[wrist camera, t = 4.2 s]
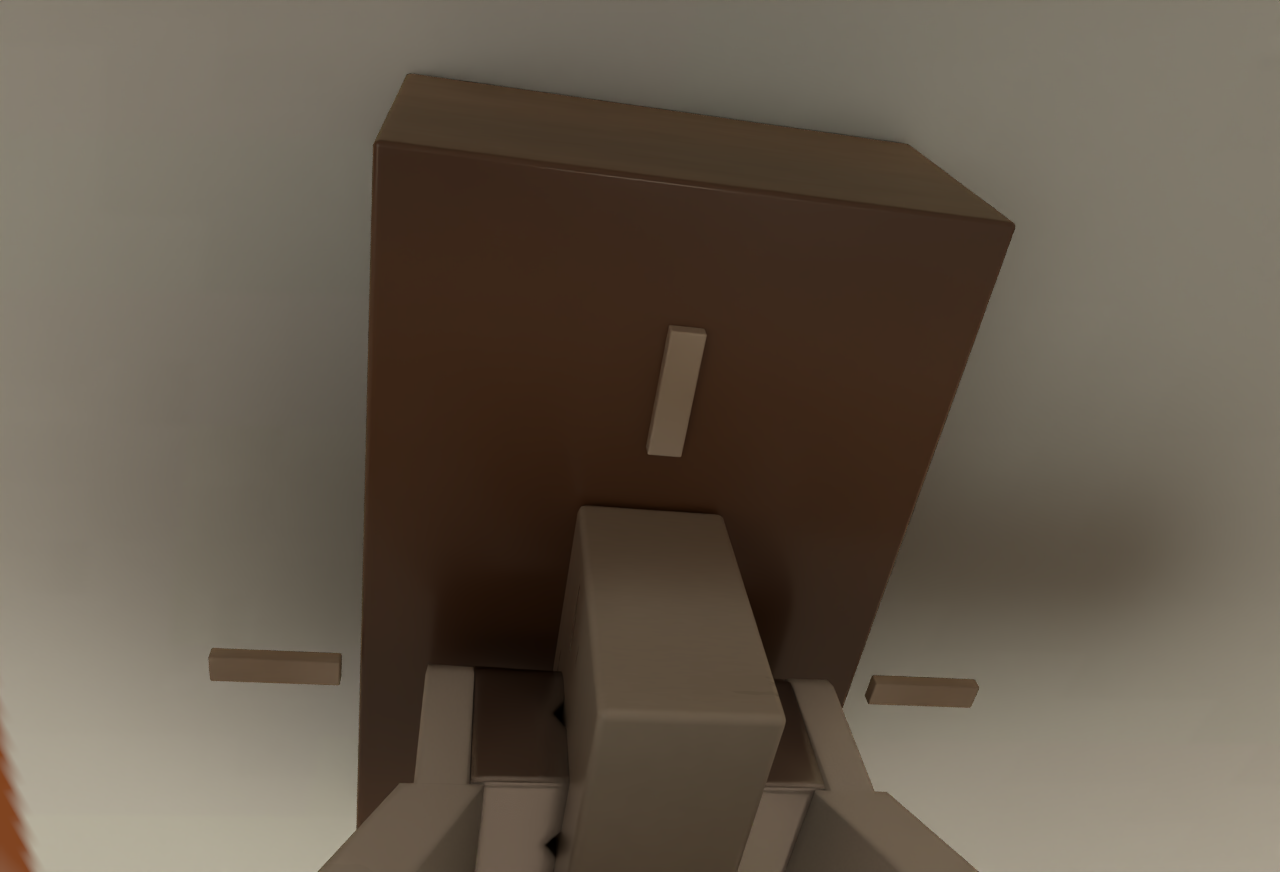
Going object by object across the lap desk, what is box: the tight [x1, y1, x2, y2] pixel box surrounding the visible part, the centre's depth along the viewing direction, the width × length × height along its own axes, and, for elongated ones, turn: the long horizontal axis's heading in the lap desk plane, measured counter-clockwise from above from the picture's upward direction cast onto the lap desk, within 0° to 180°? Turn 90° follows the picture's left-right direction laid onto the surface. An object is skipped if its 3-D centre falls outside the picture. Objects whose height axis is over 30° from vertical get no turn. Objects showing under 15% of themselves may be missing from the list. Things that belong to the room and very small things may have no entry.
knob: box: [553, 505, 786, 872], centre depth 10 cm, size 5×2×3 cm, turn 171°
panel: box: [208, 73, 1015, 830], centre depth 13 cm, size 12×9×3 cm
